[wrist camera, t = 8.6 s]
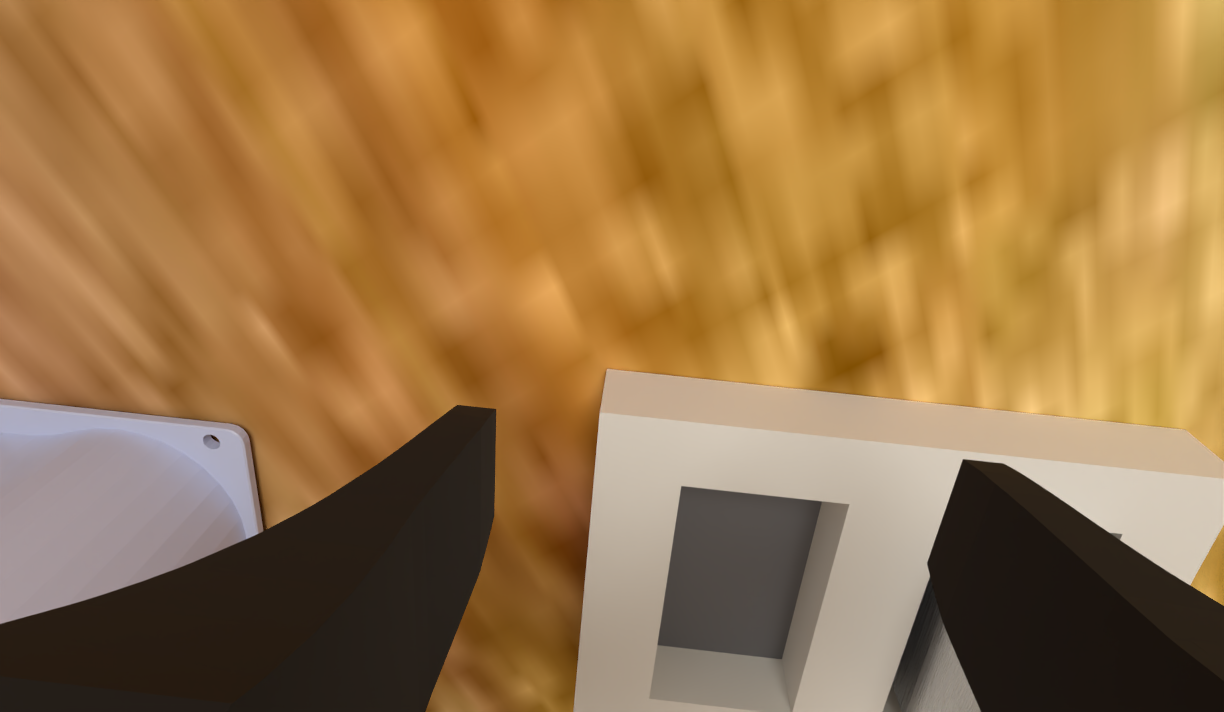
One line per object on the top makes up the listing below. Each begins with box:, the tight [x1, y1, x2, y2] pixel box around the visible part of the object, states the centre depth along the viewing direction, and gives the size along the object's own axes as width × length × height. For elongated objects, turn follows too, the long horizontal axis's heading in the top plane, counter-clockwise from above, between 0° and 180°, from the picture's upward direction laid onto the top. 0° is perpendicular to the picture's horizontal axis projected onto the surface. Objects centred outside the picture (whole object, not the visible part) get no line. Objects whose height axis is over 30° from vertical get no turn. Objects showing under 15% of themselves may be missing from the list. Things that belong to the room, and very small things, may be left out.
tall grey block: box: [892, 578, 981, 712], centre depth 21 cm, size 4×7×6 cm, turn 176°
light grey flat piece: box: [573, 369, 1224, 712], centre depth 23 cm, size 16×12×2 cm
